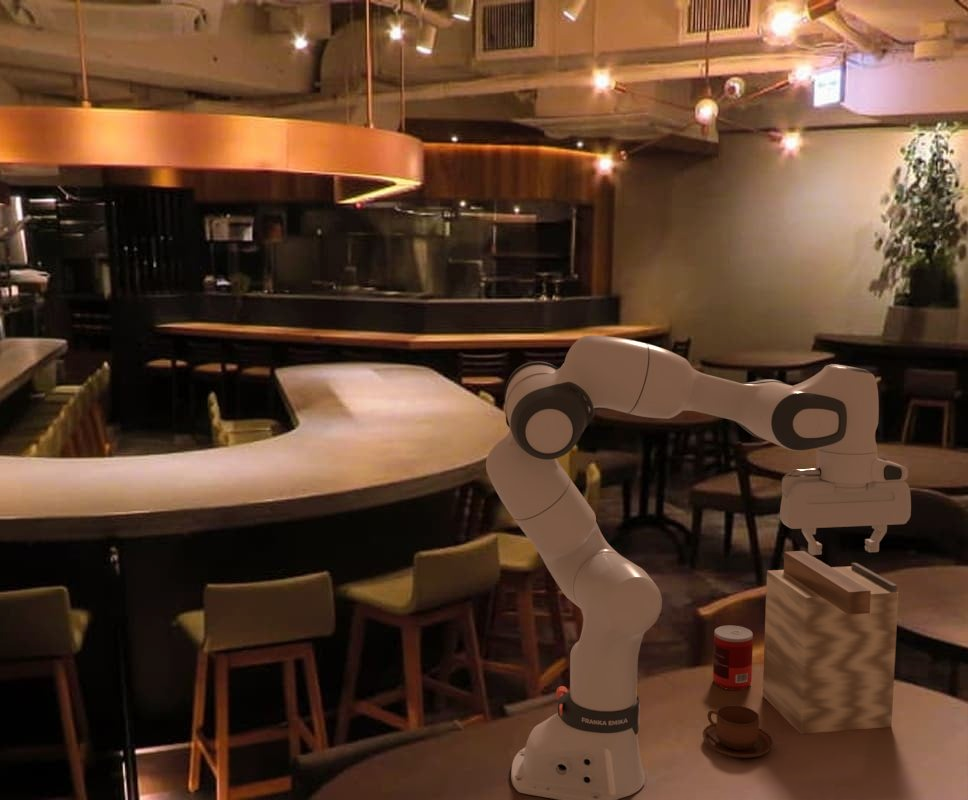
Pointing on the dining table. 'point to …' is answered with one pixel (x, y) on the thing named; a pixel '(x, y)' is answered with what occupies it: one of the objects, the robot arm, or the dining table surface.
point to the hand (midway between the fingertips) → (843, 552)
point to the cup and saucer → (736, 733)
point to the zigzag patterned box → (830, 654)
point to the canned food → (732, 657)
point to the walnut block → (827, 582)
